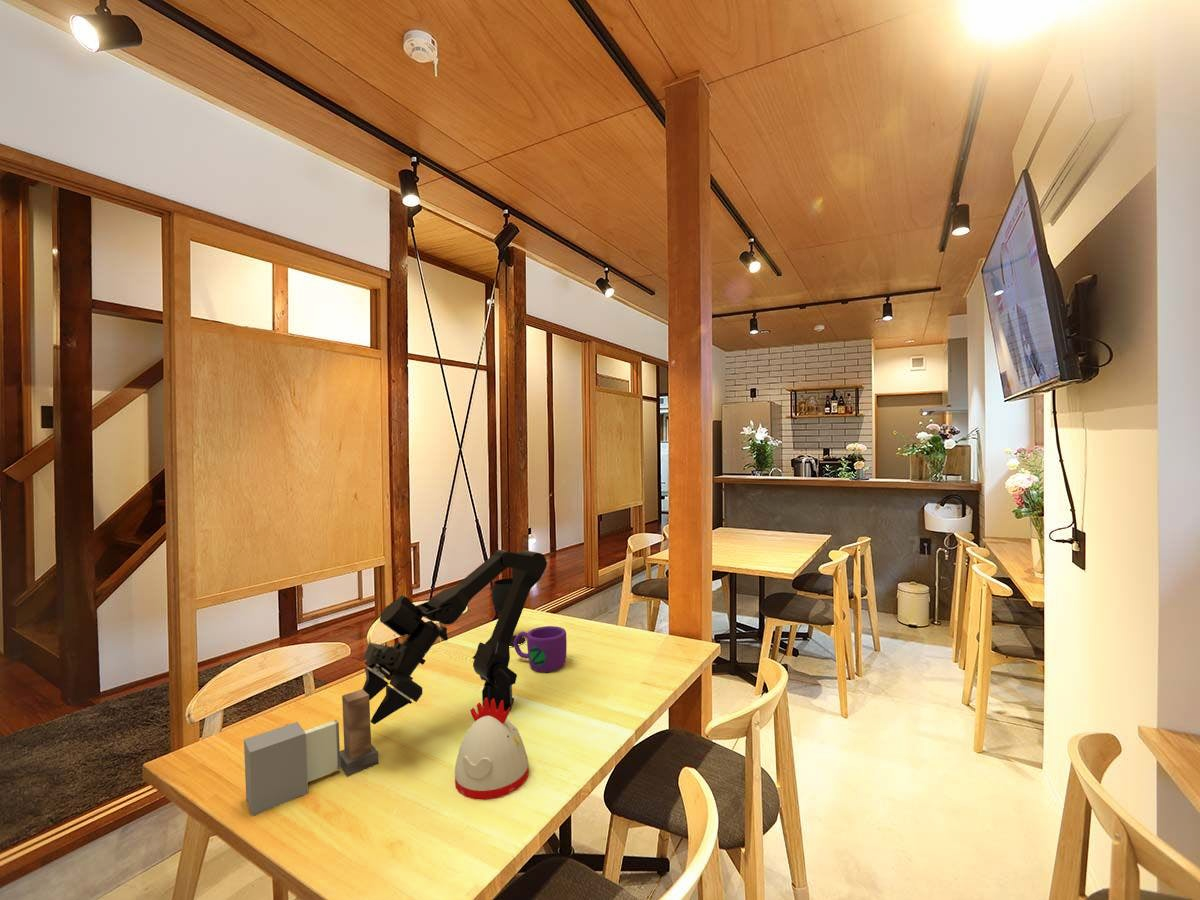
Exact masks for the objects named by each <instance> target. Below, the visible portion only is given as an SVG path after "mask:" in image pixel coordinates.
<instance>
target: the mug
mask: <svg viewBox="0 0 1200 900" xmlns="http://www.w3.org/2000/svg"><path fill="white" fill-rule="evenodd" d="M521 637H524V638H525V639H526V647H527V653H526V652H523V651H522V650H521V648H520V645H518V641H519V640H520V638H521ZM567 643H568V642H567V631H566V629H565V628H563V627H560V626H554V625H548V626H540V627H536V628H533V629H530V630H529V631H528V632H526V631H520V632H518V634H517V636H516V638H515V639H514V647H513V648H514V651H515V652H516V653H517V655H518V656H519V657H520V658H523V659H528V663H529V666H530V668H531V669H532V670H534V671H535V672H538V671H539V672H538V673H552V671H553V672H556V671H558V670H560V669H562V668H563V667H564V666H565V663H566V661H567V660H566V659H567Z"/></svg>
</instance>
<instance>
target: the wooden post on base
mask: <svg viewBox="0 0 1200 900" xmlns="http://www.w3.org/2000/svg"><path fill="white" fill-rule="evenodd" d="M341 698H342V699H341V701H342V721H343V722H342V723H343V726H342V728H343V744H344V745H343V746H344V747H343V749H340V769H341V770H342V771H343V773H344V774H345V775H346V777H350V776H353V775H355V774H357V773H360V772H362V770H363V771H364V769H365V770H367V769H370V768H371V767H374V765H375V766H377V765H379V761H380V760H379V751H378V749H377V748H376V747H375V746H374V745H373V744H372V731H371V706H370V701H369V694H367V693H366V692H365V691H364V690H363V688H362V689H359V690H355V691H353V692H349V693H346V694H343V695H342V697H341ZM369 767H370V768H369Z"/></svg>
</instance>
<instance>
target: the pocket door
mask: <svg viewBox="0 0 1200 900" xmlns="http://www.w3.org/2000/svg"><path fill="white" fill-rule="evenodd" d="M304 732H305V733H306V757H307V782H308V783H309V782H311V781H314V780H317V779H319V778H321V777H324V776H326V775H329V774H331V773H333V772H337V771H339V770H340V769H341V767H340V751H341V747H340V744H341V743H340V724H339V721H338V720H337V719H334V720H331V721H330V722H326V723H323V724H320V725H318V726H315V727H312V728H309V729H306V730H304Z"/></svg>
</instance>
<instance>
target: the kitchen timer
mask: <svg viewBox="0 0 1200 900" xmlns="http://www.w3.org/2000/svg"><path fill="white" fill-rule="evenodd" d="M476 708H477V711H476V709H475V708H474V707H472V708H470V710H469V711H470V714H471V716H472V718H473V721H474V722H473V723H472V724H471V725H470V726H469V728H468V730H467V731H466V733H465V735H464V737H463V739H462V740H461V743H460V746H459V749H458V754H457V757H456V761H455V762H456V763H455V766H454V767H455V768H454V783H455V789H456V790H457V792H458V793H459V794H460V795H462V796H464V797H466V798H469V799H472V800H483V801H487V800H493V799H498V798H502V797H505V796H507V795H509V794H511V793H513V792H515V791H517V790H518V789H519V788H520V787H522V786H523V785H524V783H525V782H526V781H527V778H528V776H529V772H530V770H529V768H530V767H529V759H528V755H527V751H526V748H525V745H524V742H523V739H522V737H521V735H520V732H519V730H518V728H517V727H516V726H515V725H514V724H513V723H512V722H511V721H510V720H509V719H508V716H509V714H510V712H511V711H510V707H509V708H508V710H507V711H504V703H503V700H502V701H501V702H500V704H499V708H498V710H497V708H496V703H495V700H494V698H493V699H492V700H491V706H490V707H489V702H488V699H487V697H486V698H485V699H484V704H483V703H482V704H481V702H480V701H479V702H478V703H476ZM509 711H510V712H509ZM477 712H478V713H477Z"/></svg>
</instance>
